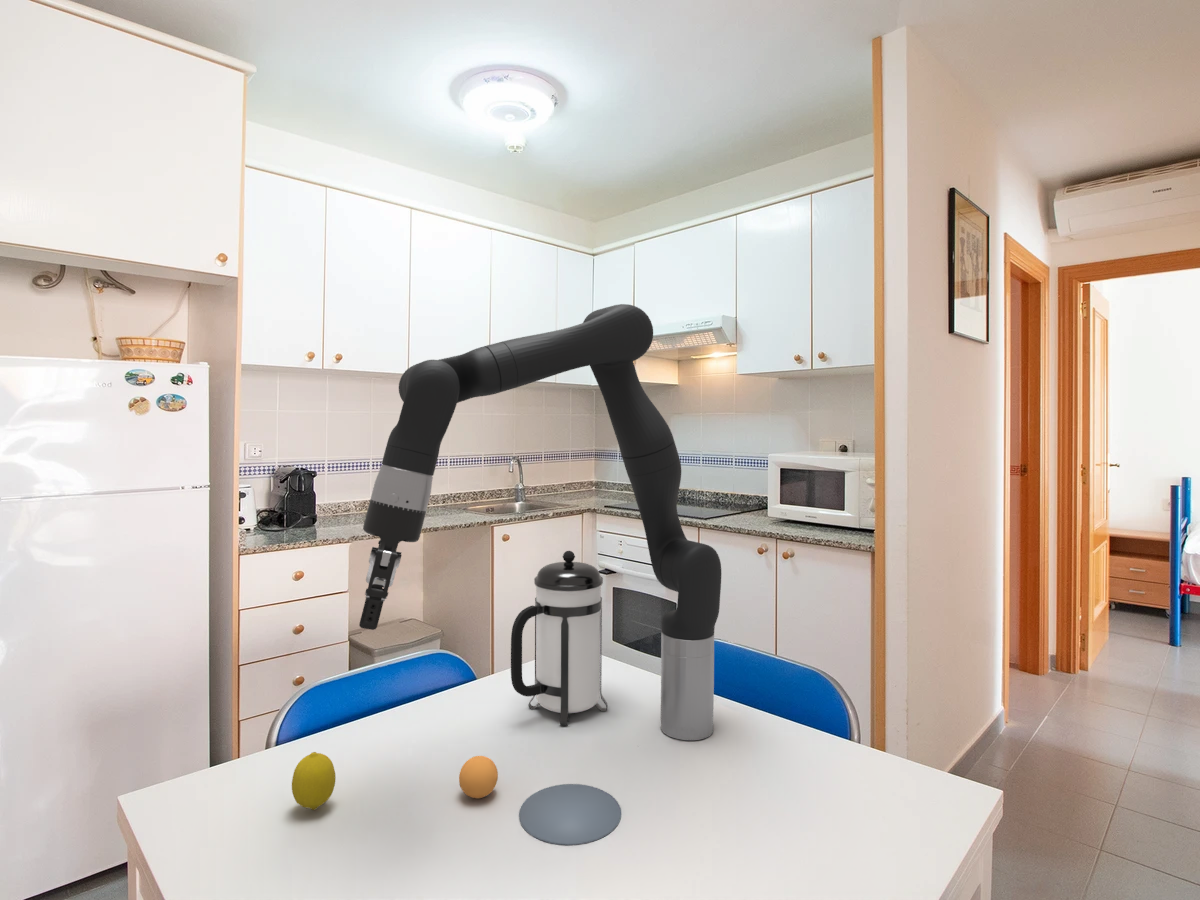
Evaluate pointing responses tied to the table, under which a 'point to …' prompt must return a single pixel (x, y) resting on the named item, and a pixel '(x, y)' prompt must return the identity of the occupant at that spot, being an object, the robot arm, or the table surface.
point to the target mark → (570, 814)
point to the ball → (478, 777)
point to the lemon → (313, 780)
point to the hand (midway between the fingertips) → (368, 620)
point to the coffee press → (563, 639)
